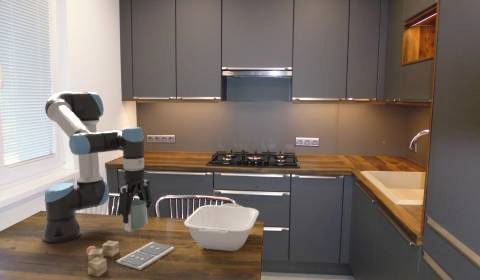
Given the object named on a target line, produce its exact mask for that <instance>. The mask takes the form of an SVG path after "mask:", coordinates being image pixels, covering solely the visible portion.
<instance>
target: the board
mask: <svg viewBox="0 0 480 280" xmlns="http://www.w3.org/2000/svg"><path fill="white" fill-rule="evenodd" d="M174 250H175V247H174V246H170V245H168V244H167V245H166V244H163V243H159V242H156V241H151V242H149V243H146V244H145V245H143V246H141V247H139V248H137V249H135V250H134V251H131V252H130V253H128V254H126V255H124V256H123V257H121V258H119V259H117V260H116V263H117V264H119V265H123V266H125V267H128V268H132V269H135V270H138V271H141V270H143V269H144V268H146V267H148V266H149V265H151V264H153V263H154V262H156V261H158V260H159V259H161V258H163V257H164V256H165V255H167V254H169V253H170V252H172V251H174Z"/></svg>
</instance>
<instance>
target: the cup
mask: <svg viewBox="0 0 480 280" xmlns="http://www.w3.org/2000/svg"><path fill="white" fill-rule="evenodd" d="M129 214H131V230H132V231H133V230H140V229H141V230H142V228H144V227H145V225H146V224H145V223H146V201H142V200H140V199H133V200H132V204H131V208H130V212H129Z"/></svg>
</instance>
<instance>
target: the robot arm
mask: <svg viewBox="0 0 480 280" xmlns="http://www.w3.org/2000/svg"><path fill="white" fill-rule="evenodd" d="M44 110H45V111H44V112H45V114H46V116H47V117H48V118H49V119H50V121H51V122H54V123H56V124H57V125H58V127H60V129H61V130H62V131H63V132H64V133H65V135H66V136H67V137H68V138H69V139H68V144H69V145H68V146H69V149H70V152H71V153H72V154H73V155H76V156H78V167H79V168H78V170H79V177H78V179H76V184H75V185H74V183H72V182H65V183H64V182H62V183H57V184H55V185H51V186H50V187H48V188H47V189H46V190H45V192H44V206H45V216H46V217H45V218H46V223H45V227H44V231H43V234H42V238H43V239H42V240H43V241H45V242H46V243H53V244H54V243H64V242H69V241H72V240H74V239H77V238H78V237H80V236H81V232H82V231H81V227H80V224H79V222H78V220H77V217H76V212H77V211H81V210H86V209H91V208H97V207H100V206H103V205H105V204H106V203H107V201H108V200H109V195H110V188H109V183H108V182H107V181H106V180H104V177H103V176H101V174H100V162H99V153H106V152H114V151H115V152H116V151H122V157H123V158H122V159H123V160H122V161H123V163H122V164H123V169H124V170H123V179H124V181H125V183H124V184H125V185H124V186H119V188H118V192H119V196H118V207H117V208H118V209H117V214H118V215H122V222H123V224H124V225H123V226H124V232H129V233H130V232H131V233H132V231H133V229H131V214H129V212H130V208H131V204H132V200H134V198H135V195H136V194H137V196H138V200H142V201H146V223H145V225H148V223H149V222H148V215H149V208H150V207H151V205H152V194H151V189H150V188H151V187H150V183H151V182H150V180H148V179H145V178H146V175H145V174H146V173H145V136H144V130H143V128H142V127H140V126H139V127H138V126H129V127H124V128H122V129H114V130H111V131H101V132H99V131H98V130H97V124H98V123H99V122H100V118H101V117H103V115H104V103H103V100H102V98H101V97H100V95H99V94H98V93H97V92H93V91H61V92H56V93H55V94H53V95H51V96H50V97H48V99H47V101H46V102H45V106H44Z"/></svg>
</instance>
